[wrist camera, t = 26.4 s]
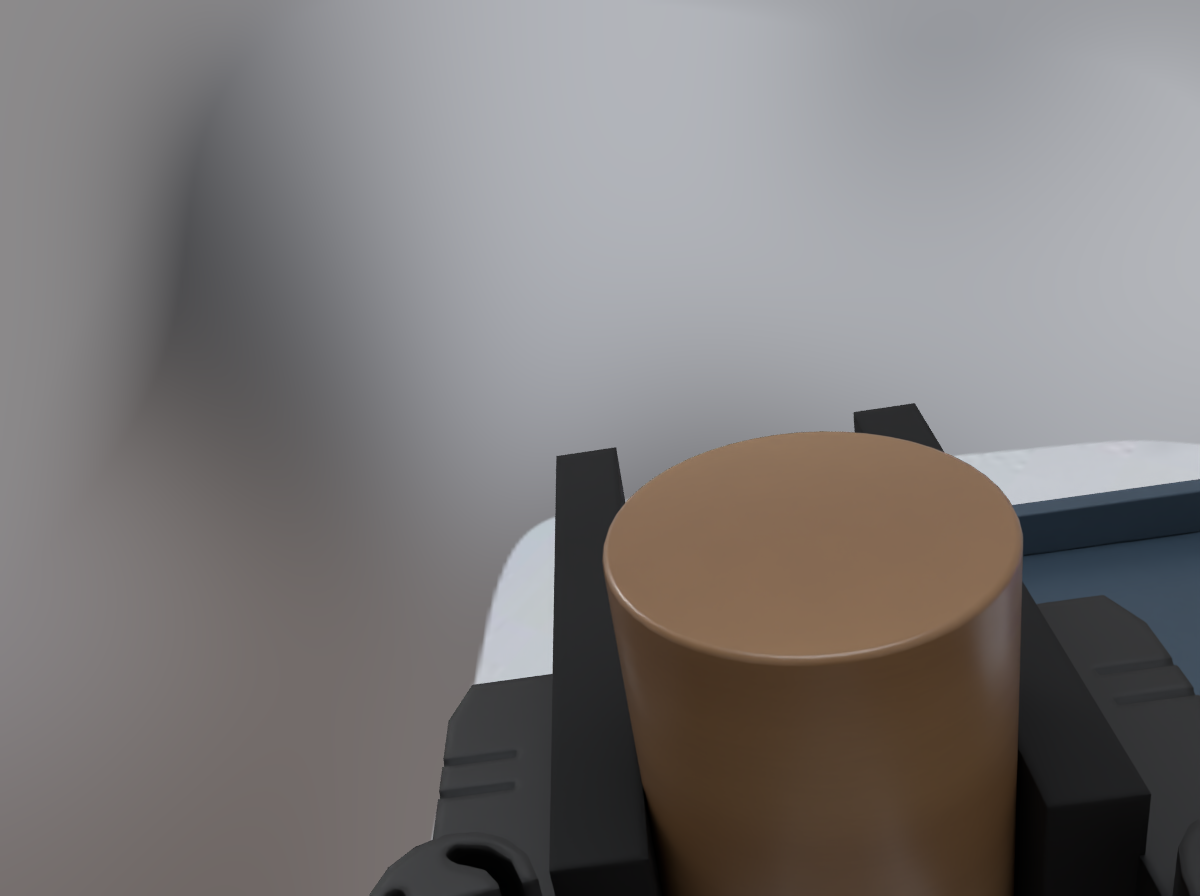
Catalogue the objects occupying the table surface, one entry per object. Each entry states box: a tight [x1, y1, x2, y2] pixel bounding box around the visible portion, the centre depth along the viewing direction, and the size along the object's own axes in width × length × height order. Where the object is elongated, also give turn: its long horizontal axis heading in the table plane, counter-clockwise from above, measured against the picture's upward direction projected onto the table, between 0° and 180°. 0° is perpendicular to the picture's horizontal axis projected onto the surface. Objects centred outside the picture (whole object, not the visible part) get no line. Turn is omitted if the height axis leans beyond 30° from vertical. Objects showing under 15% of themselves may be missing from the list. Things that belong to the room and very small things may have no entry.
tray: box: [1012, 479, 1200, 695], centre depth 35 cm, size 25×16×2 cm, turn 90°
